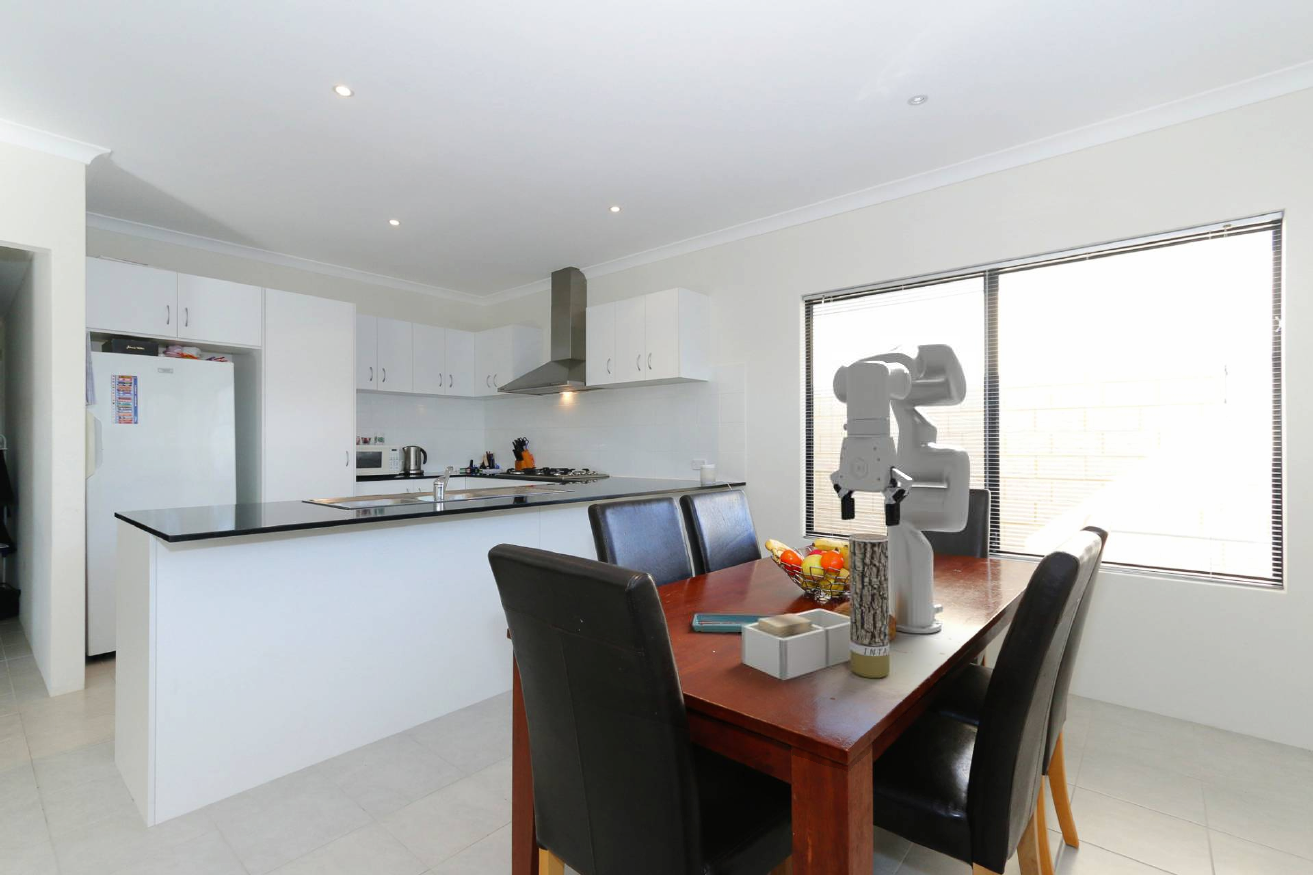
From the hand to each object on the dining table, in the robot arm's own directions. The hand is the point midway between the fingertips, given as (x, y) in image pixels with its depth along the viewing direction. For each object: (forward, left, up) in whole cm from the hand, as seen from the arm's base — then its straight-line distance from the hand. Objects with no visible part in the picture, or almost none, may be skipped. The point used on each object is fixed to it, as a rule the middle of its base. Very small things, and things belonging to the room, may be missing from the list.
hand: (869, 522), depth 115 cm
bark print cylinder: (0, 0, -28) cm, 28 cm away
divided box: (+6, -12, -28) cm, 30 cm away
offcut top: (+10, -12, -22) cm, 27 cm away
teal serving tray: (-1, -33, -28) cm, 43 cm away
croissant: (-17, -15, -28) cm, 36 cm away
